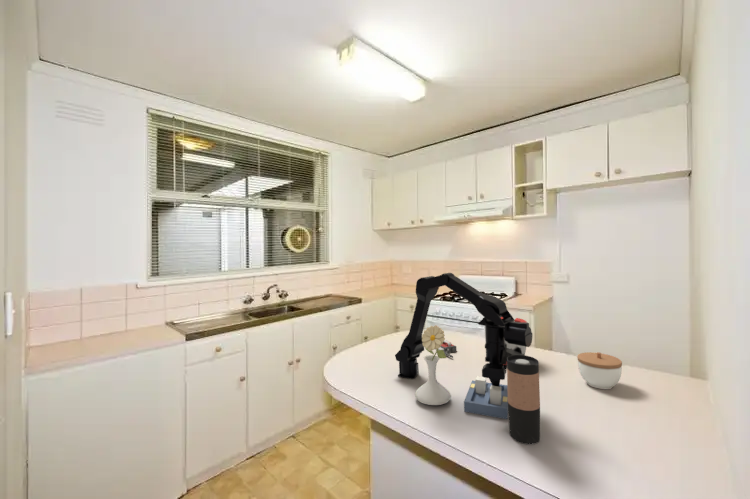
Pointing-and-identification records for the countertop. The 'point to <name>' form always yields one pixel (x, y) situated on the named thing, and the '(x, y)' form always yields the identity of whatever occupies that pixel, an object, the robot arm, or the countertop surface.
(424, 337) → the flower in vase
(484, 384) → the left tab
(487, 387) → the switch panel
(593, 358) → the lidded bowl
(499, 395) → the right tab
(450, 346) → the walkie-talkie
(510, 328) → the robot arm
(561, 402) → the countertop surface
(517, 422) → the travel mug
